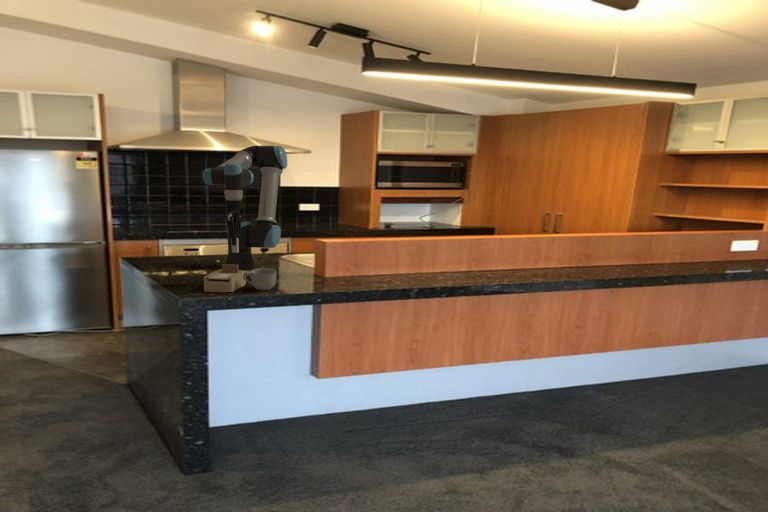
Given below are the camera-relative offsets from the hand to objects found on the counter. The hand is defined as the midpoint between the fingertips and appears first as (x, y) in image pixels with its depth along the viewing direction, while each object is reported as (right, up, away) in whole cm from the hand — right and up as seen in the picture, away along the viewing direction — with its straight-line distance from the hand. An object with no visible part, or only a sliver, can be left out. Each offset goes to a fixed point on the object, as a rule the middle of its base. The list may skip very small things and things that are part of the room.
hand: (235, 252), depth 236 cm
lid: (-1, -10, -10) cm, 14 cm away
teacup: (+13, -16, -10) cm, 23 cm away
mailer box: (-2, -15, -9) cm, 18 cm away
